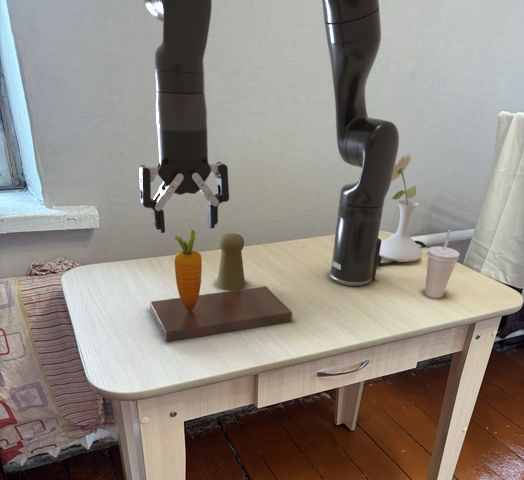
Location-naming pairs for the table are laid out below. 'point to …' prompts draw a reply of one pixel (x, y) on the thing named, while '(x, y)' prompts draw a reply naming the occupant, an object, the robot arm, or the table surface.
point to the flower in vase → (402, 223)
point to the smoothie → (439, 268)
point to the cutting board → (219, 313)
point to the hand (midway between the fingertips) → (186, 229)
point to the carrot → (188, 272)
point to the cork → (231, 262)
